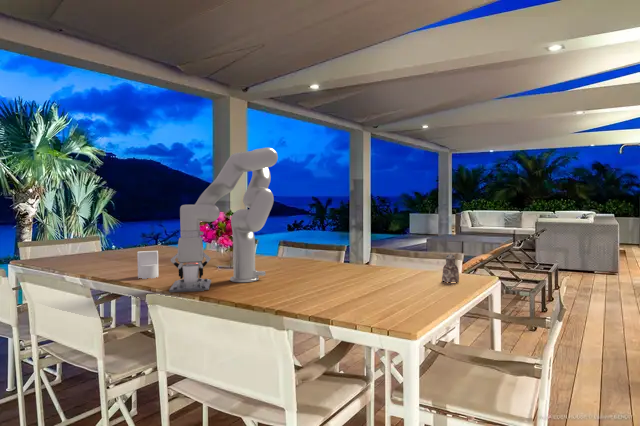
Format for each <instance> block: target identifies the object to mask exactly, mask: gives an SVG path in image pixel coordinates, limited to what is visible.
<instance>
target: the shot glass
mask: <svg viewBox="0 0 640 426" xmlns="http://www.w3.org/2000/svg"><path fill="white" fill-rule="evenodd" d="M199 268H200V266H199V264H187V263H184V264H183V265H182V269H183V278H182V279H184V282H185V283H190V282H198V278H199Z"/></svg>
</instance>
